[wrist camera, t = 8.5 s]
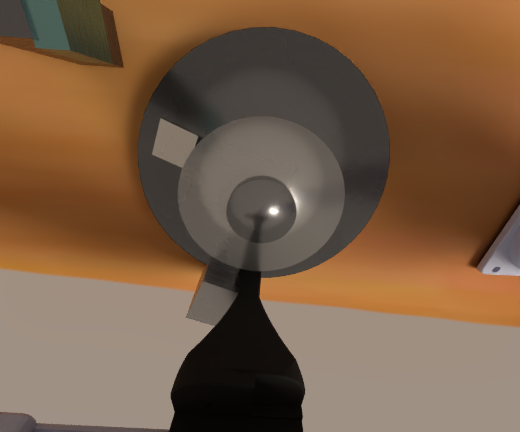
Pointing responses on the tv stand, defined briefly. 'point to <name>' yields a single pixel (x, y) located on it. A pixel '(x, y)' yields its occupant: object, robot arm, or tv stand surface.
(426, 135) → the tv stand surface
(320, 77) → the turntable
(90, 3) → the stacked blocks
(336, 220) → the cover
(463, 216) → the tv stand surface
